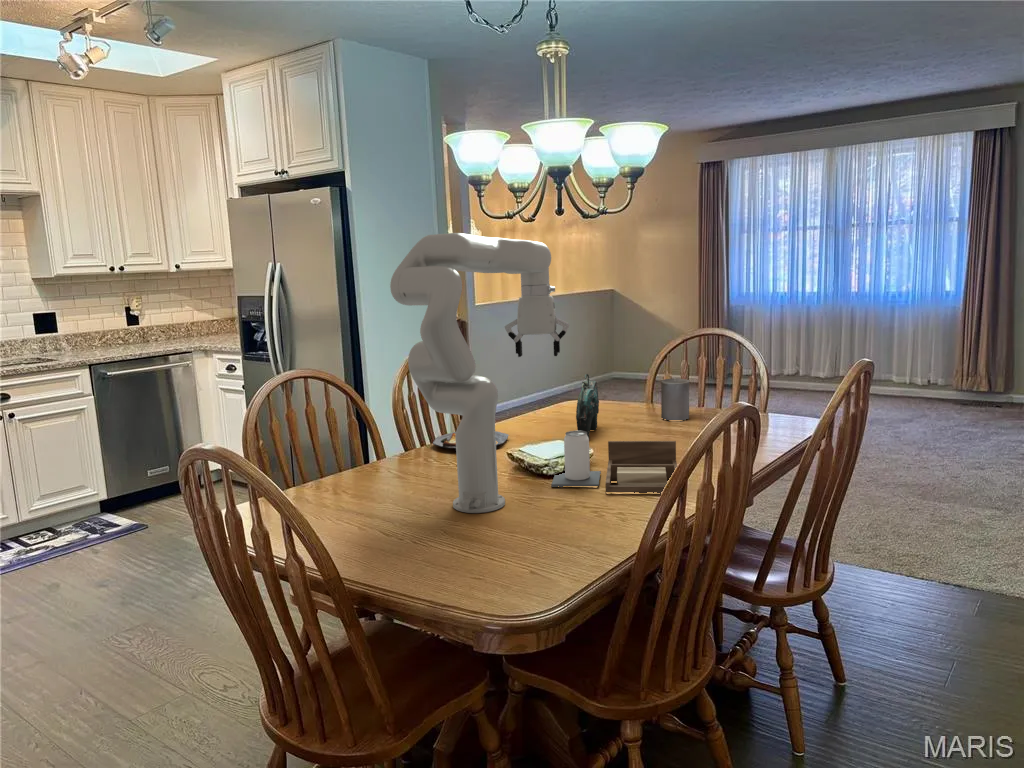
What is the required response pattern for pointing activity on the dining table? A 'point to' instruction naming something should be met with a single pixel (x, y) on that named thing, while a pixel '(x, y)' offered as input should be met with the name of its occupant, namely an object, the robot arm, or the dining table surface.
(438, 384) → the robot arm
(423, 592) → the dining table surface
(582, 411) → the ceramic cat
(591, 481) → the mat
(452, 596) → the dining table surface
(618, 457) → the open wooden box
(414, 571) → the dining table surface
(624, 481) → the offcut upper
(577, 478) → the can
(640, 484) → the offcut lower
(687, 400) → the pillar candle
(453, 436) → the food plate
